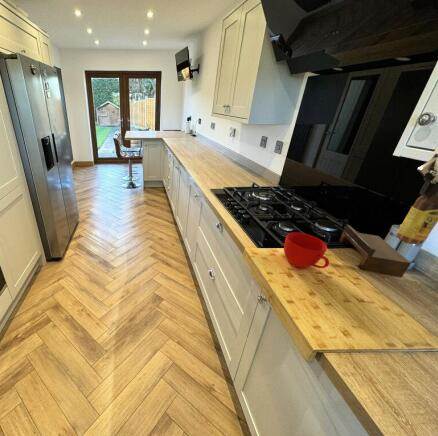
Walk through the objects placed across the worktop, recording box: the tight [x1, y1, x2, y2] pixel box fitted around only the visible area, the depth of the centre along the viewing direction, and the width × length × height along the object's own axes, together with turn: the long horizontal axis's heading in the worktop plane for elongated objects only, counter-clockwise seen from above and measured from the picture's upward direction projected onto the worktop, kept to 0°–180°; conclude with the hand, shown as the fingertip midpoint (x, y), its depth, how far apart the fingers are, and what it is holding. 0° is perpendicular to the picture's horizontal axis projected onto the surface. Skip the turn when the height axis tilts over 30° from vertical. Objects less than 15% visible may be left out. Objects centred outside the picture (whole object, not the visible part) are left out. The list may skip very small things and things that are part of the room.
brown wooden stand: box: [338, 224, 412, 278], centre depth 94 cm, size 13×20×10 cm, turn 164°
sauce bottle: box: [395, 181, 438, 246], centre depth 69 cm, size 6×6×20 cm
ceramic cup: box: [283, 232, 330, 269], centre depth 87 cm, size 13×17×10 cm
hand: (435, 196), depth 67 cm, fingers closed on sauce bottle, 4 cm apart
